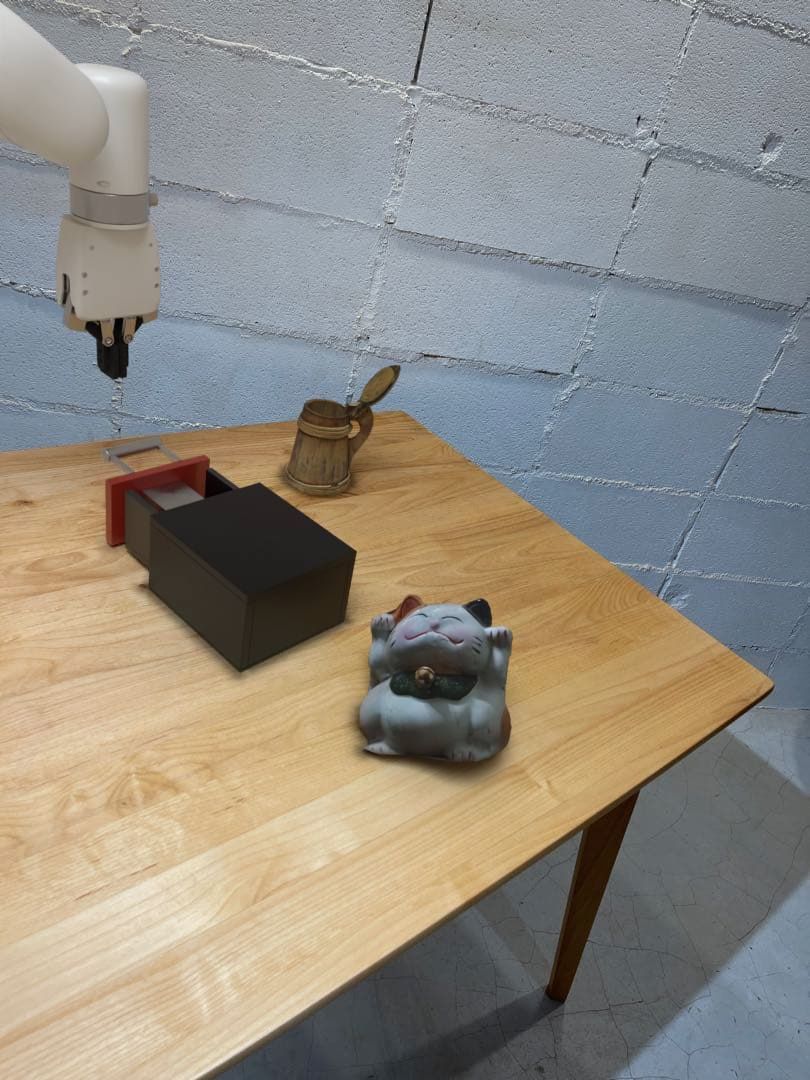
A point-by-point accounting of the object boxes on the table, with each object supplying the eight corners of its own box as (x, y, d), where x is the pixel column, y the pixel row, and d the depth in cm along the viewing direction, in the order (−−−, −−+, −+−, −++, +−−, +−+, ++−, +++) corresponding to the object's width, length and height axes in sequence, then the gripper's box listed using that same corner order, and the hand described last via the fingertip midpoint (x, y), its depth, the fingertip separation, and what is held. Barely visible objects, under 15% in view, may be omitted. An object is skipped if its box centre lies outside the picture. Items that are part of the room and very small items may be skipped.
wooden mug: (385, 501, 112) (409, 379, 102) (286, 497, 108) (302, 369, 99) (373, 469, 119) (394, 352, 110) (280, 464, 115) (294, 342, 106)
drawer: (79, 516, 94) (76, 451, 90) (173, 490, 103) (176, 429, 98) (181, 609, 84) (184, 540, 79) (276, 570, 92) (284, 507, 88)
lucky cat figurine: (328, 746, 73) (340, 592, 72) (384, 716, 84) (395, 582, 83) (488, 783, 67) (504, 616, 66) (526, 745, 78) (539, 602, 77)
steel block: (141, 528, 92) (141, 490, 90) (179, 516, 96) (180, 479, 93) (166, 550, 90) (167, 511, 87) (204, 537, 93) (206, 499, 91)
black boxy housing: (148, 592, 86) (149, 514, 81) (252, 554, 96) (259, 482, 91) (239, 677, 78) (247, 596, 73) (343, 625, 88) (357, 551, 83)
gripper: (154, 194, 90) (152, 353, 99) (18, 196, 80) (32, 372, 89) (194, 213, 86) (188, 376, 96) (57, 217, 76) (67, 399, 86)
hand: (113, 373), depth 92 cm, fingers closed
